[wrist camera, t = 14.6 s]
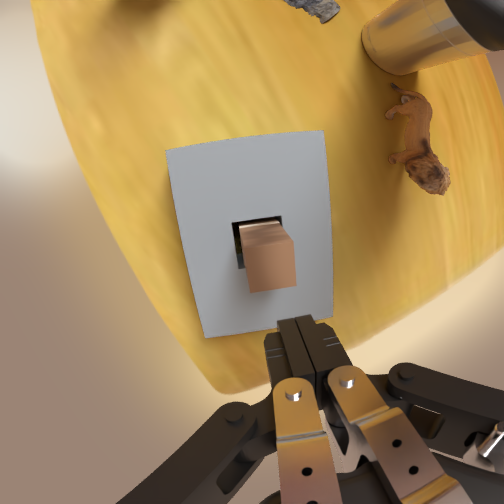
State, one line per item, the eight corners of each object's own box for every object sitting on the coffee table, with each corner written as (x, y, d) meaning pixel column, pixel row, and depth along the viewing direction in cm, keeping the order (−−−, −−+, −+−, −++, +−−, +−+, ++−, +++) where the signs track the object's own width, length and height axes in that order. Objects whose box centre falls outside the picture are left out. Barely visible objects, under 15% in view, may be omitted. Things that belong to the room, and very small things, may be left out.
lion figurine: (419, 184, 34) (461, 195, 26) (390, 189, 34) (431, 201, 26) (403, 83, 29) (444, 73, 21) (372, 83, 29) (411, 68, 21)
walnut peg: (270, 211, 34) (294, 240, 23) (274, 243, 35) (297, 286, 24) (236, 216, 34) (243, 248, 22) (241, 248, 35) (249, 293, 24)
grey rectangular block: (309, 133, 31) (323, 130, 26) (321, 298, 39) (332, 316, 34) (174, 151, 30) (165, 150, 26) (207, 316, 38) (205, 338, 33)
